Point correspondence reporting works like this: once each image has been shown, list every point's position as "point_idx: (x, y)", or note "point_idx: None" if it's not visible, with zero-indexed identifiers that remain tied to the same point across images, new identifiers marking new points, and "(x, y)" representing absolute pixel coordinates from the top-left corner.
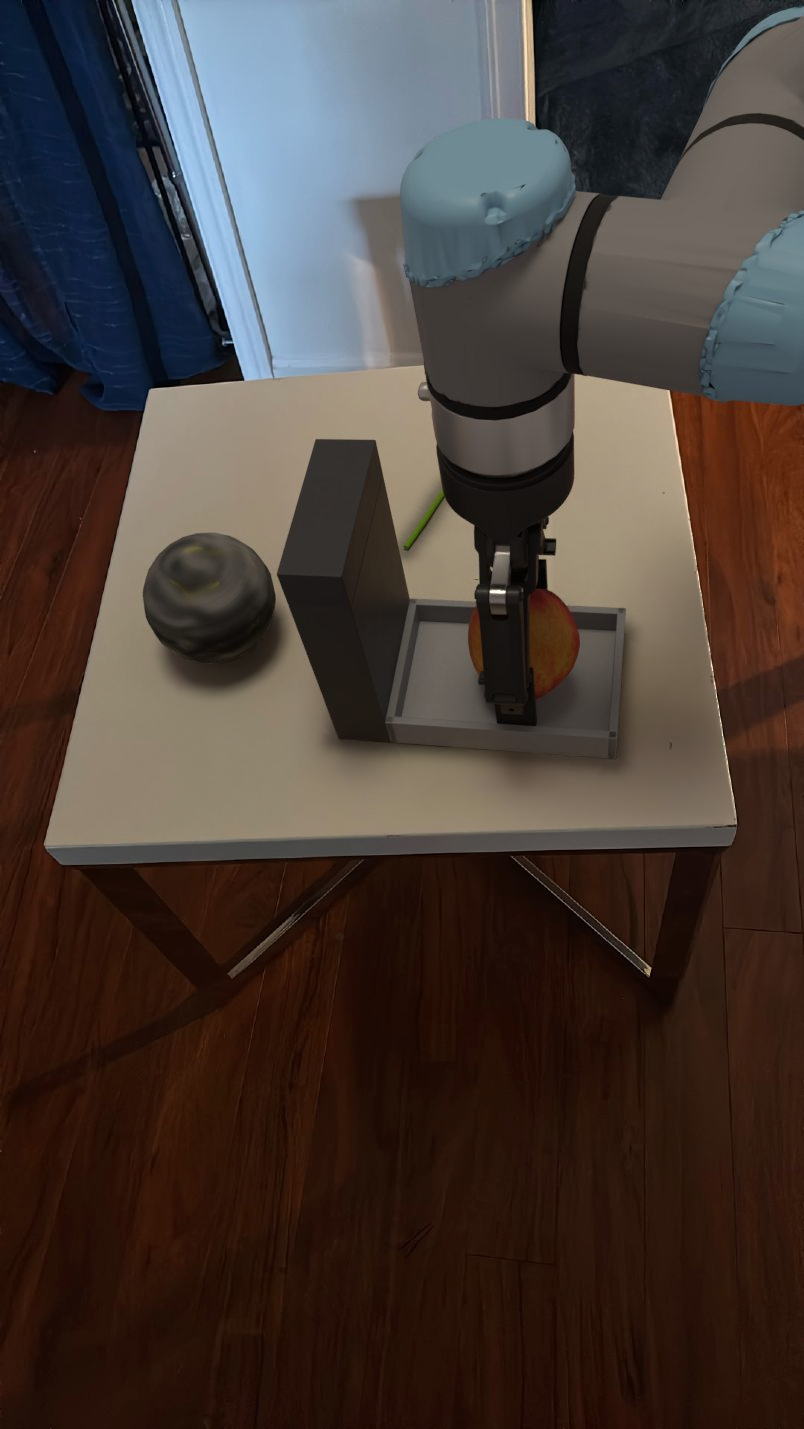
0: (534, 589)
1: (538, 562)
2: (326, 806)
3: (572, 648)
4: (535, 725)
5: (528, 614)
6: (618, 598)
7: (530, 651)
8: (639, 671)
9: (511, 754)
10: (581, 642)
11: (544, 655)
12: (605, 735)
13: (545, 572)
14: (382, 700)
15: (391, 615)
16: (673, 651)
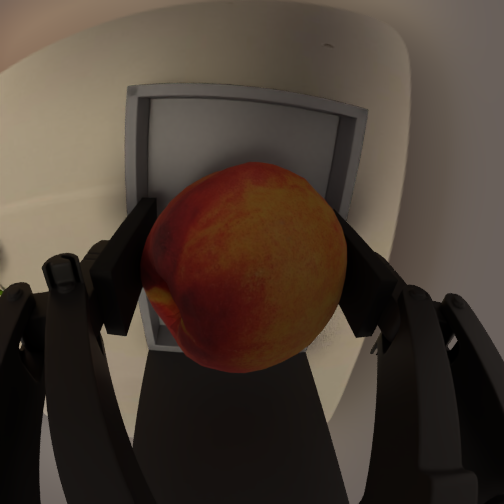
0: (476, 478)
1: (100, 284)
2: (344, 350)
3: (284, 181)
4: (337, 212)
5: (442, 410)
6: (94, 104)
7: (335, 282)
8: (212, 66)
9: None
10: (171, 144)
11: (336, 251)
12: (362, 123)
13: (115, 261)
14: (301, 372)
15: (217, 404)
16: (181, 28)
